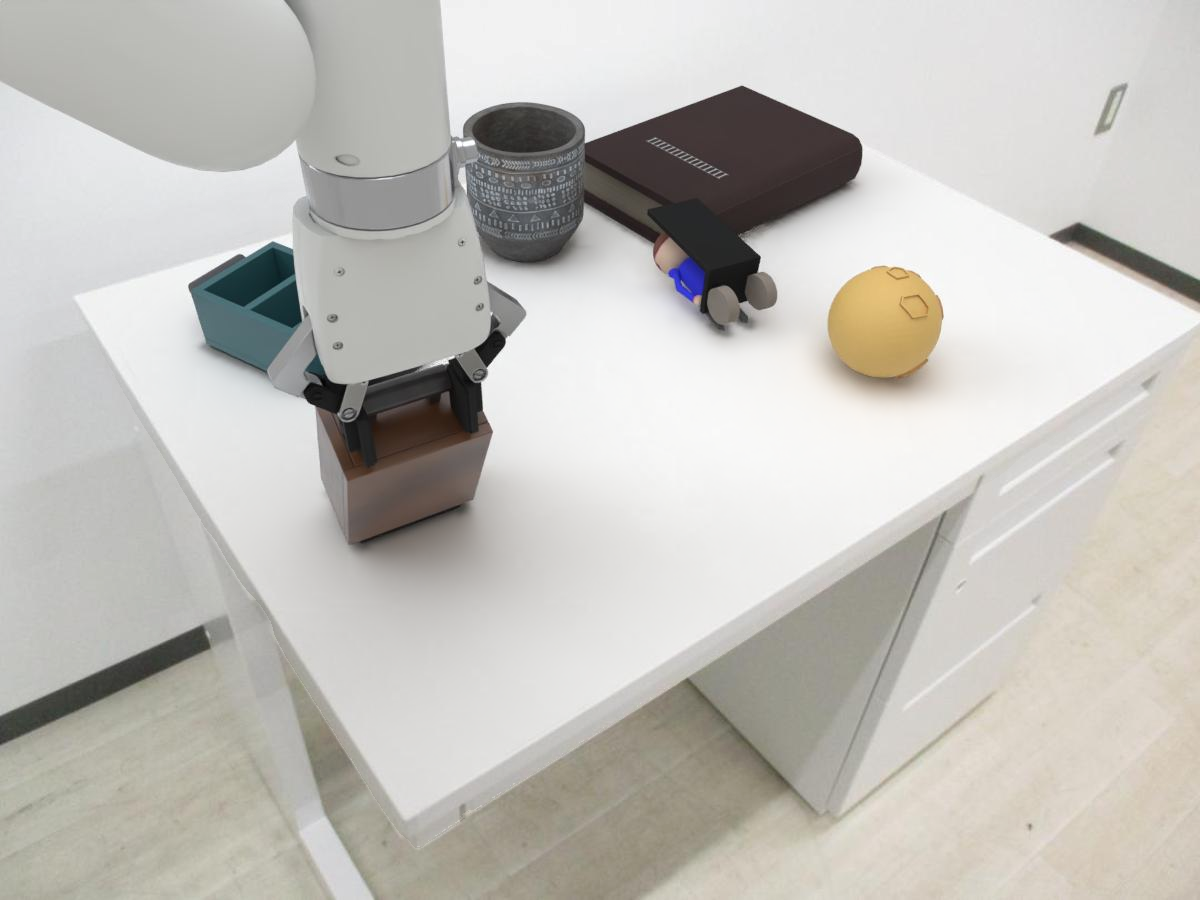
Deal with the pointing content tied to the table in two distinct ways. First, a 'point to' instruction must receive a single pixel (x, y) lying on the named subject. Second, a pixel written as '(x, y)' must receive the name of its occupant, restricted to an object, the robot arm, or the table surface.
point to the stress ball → (885, 322)
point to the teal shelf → (251, 305)
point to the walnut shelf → (402, 456)
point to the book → (719, 162)
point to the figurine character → (710, 262)
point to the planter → (526, 178)
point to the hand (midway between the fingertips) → (415, 434)
